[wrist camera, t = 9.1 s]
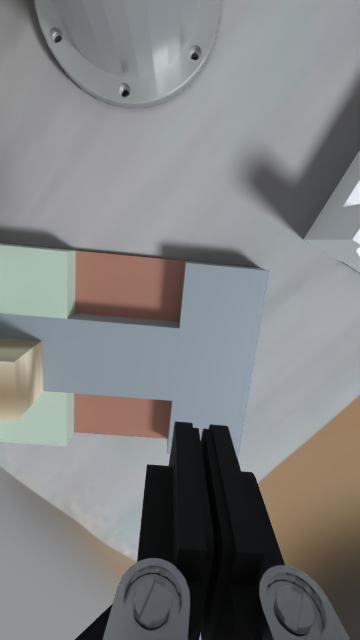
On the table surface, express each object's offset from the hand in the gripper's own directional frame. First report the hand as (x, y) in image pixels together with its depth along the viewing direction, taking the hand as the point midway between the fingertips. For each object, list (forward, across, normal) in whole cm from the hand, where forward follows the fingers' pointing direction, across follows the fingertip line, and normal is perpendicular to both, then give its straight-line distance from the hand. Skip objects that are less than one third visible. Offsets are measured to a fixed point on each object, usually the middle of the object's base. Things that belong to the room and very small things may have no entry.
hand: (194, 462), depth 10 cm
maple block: (+15, +13, +5) cm, 21 cm away
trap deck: (+18, +5, +4) cm, 19 cm away
